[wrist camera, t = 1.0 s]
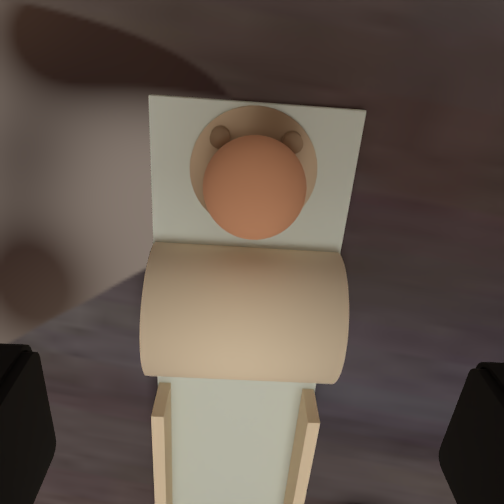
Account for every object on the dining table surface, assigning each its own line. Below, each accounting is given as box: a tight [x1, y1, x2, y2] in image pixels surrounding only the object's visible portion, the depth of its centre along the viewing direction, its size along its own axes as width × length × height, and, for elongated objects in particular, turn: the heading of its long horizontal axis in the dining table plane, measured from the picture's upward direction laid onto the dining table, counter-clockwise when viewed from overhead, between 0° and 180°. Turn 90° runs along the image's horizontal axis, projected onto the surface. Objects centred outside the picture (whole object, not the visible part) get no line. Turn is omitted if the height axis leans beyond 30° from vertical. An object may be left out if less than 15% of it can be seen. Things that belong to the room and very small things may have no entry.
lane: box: [140, 94, 366, 504], centre depth 30 cm, size 11×36×8 cm, turn 176°
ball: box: [203, 135, 307, 240], centre depth 22 cm, size 5×5×5 cm
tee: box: [190, 105, 317, 213], centre depth 24 cm, size 7×7×1 cm
